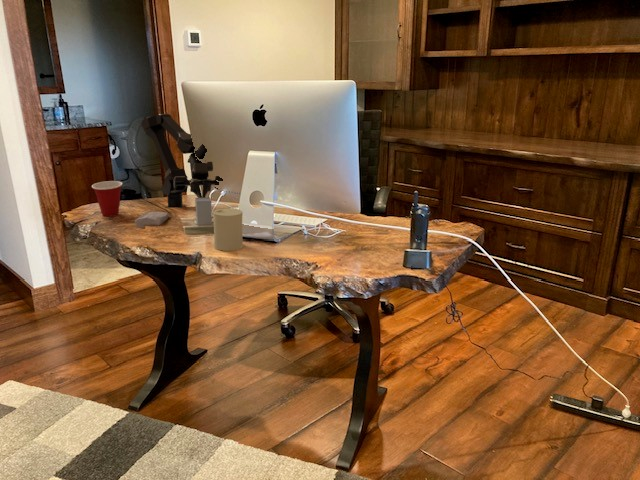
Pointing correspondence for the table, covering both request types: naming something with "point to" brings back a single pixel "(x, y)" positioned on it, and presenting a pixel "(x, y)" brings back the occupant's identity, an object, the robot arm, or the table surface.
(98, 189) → the plastic cup
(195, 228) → the trap board
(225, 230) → the can
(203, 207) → the slate block
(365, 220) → the table surface
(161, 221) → the stone block
